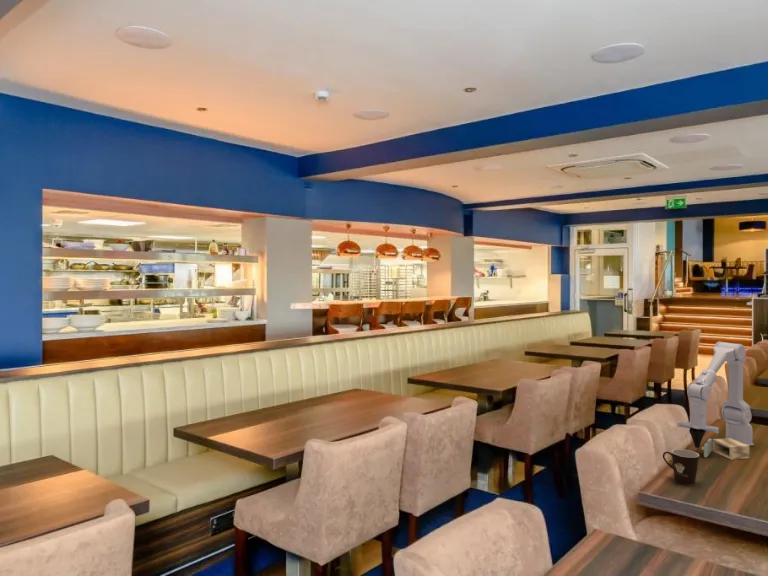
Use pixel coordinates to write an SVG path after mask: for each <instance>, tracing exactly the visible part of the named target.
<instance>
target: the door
mask: <svg viewBox="0 0 768 576" xmlns="http://www.w3.org/2000/svg"><path fill="white" fill-rule="evenodd" d="M712 446H713V439H712V438H708V439H707V441H705V443H704V444H703V446H701V450H703V457H704V458H708V457H709V455H710V454H711V453H712V452H713V451H712Z"/></svg>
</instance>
